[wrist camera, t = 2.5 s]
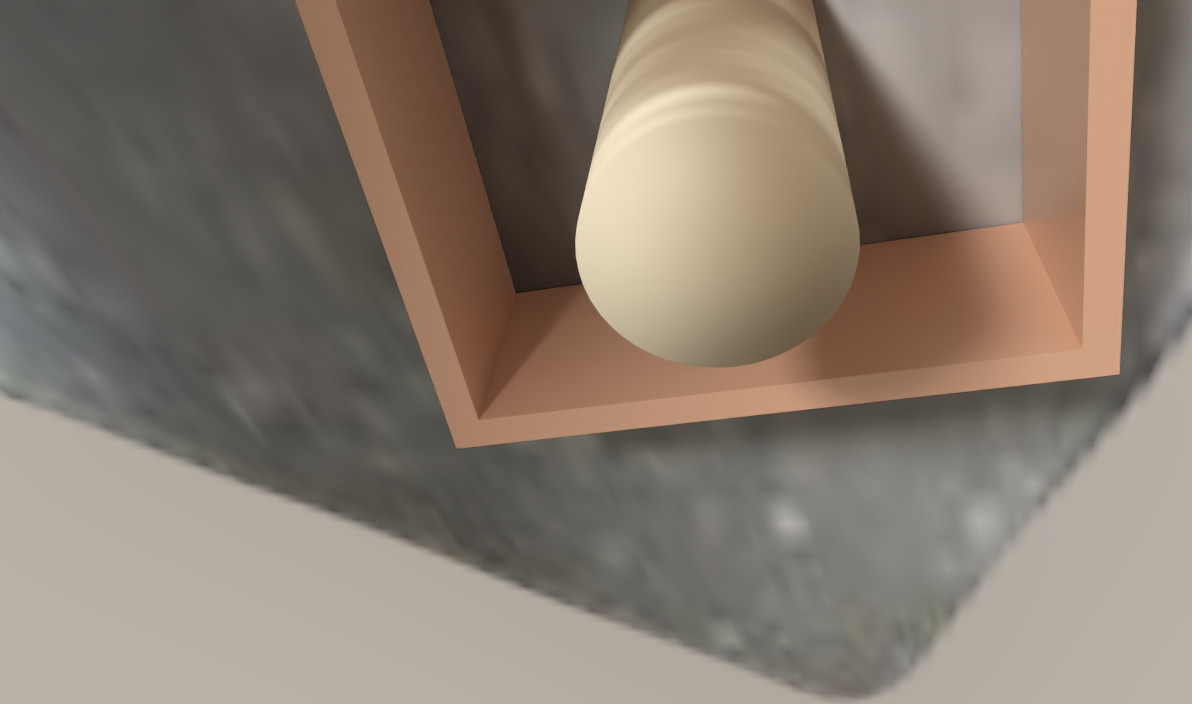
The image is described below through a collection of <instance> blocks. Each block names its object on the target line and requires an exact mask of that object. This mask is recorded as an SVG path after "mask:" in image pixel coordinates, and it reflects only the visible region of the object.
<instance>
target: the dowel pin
mask: <svg viewBox="0 0 1192 704" xmlns="http://www.w3.org/2000/svg"><path fill="white" fill-rule="evenodd" d="M575 245H576V259H577V265H578V270H579V274H580V277H581V280H582V283H583V286H584V288H585V290H586V292H587V294H588V296H589V298H590V300H591V302H592V303H593V305H594V306H595V308H596V309H597V311H598V312H599V313H600V315H601V316H602V317H603V318H604V319H605V320H606V321H607V323H608V324H609V325H610V326H611V327H612V328H613V329H614V330H616V331H617V332H618V333H619V334H620V335H621V336H623V337H624V338H625V339H627V340H628V341H630V342H631V343H633V344H634V345H636V346H637V347H639V348H641V349H643V350H645V351H647V352H649V353H651V354H653V355H655V356H658V357H661V358H663V359H666V360H669V361H673V362H677V363H680V364H684V365H691V366H698V367H713V368H722V367H737V366H742V365H748V364H753V363H757V362H760V361H764V360H767V359H770V358H773V357H775V356H778V355H780V354H782V353H785V352H787V351H789V350H791V349H792V348H794V347H796V346H798V345H800V344H801V343H803V342H804V341H805V340H807V339H808V338H809V337H811V336H812V335H814V334H815V333H816V332H817V331H818V330H819V329H820V328H821V327H822V326H824V325H825V324H826V323H827V322H828V320H829V319H830V318H831V317H832V316H833V314H834V313H835V312H836V311H837V310H838V308H839V307H840V305H841V303H842V302H843V300H844V299H845V297H846V295H847V293H848V291H849V289H850V286H851V284H852V282H853V279H854V276H855V272H856V269H857V265H858V258H859V251H860V234H859V226H858V221H857V215H856V210H855V205H854V200H853V196H852V191H851V186H850V181H849V176H848V171H847V166H846V162H845V157H844V152H843V147H842V142H841V137H840V132H839V128H838V123H837V118H836V113H835V108H834V103H833V98H832V94H831V89H830V84H829V79H828V74H827V69H826V65H825V60H824V55H823V50H822V45H821V40H820V35H819V31H818V26H817V21H816V16H815V11H814V6H813V1H812V0H629V5H628V9H627V13H626V17H625V22H624V26H623V30H622V34H621V39H620V43H619V47H618V51H617V56H616V60H615V64H614V69H613V73H612V77H611V81H610V86H609V90H608V94H607V98H606V103H605V107H604V111H603V116H602V120H601V124H600V128H599V133H598V137H597V141H596V145H595V150H594V154H593V158H592V162H591V167H590V171H589V175H588V180H587V184H586V188H585V192H584V197H583V201H582V205H581V209H580V214H579V218H578V222H577V230H576V238H575Z"/></svg>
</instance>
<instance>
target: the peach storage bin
mask: <svg viewBox="0 0 1192 704" xmlns="http://www.w3.org/2000/svg"><path fill="white" fill-rule="evenodd" d="M295 2H296V5H297V8H298V11H299V13H300V16H301V19H302V22H303V25H304V27H305V30H306V33H307V36H308V38H309V41H310V44H311V47H312V49H313V52H314V55H315V58H316V61H317V63H318V66H319V69H320V72H321V74H322V77H323V80H324V83H325V85H326V88H327V91H328V94H329V97H330V99H331V102H332V105H333V108H334V110H335V113H336V116H337V119H338V122H339V124H340V127H341V130H342V133H343V135H344V138H345V141H346V144H347V146H348V149H349V152H350V155H351V158H352V160H353V163H354V166H355V169H356V171H357V174H358V177H359V180H360V182H361V185H362V188H363V191H364V194H365V196H366V199H367V202H368V205H369V207H370V210H371V213H372V216H373V218H374V221H375V224H376V227H377V230H378V232H379V235H380V238H381V241H382V243H383V246H384V249H385V252H386V254H387V257H388V260H389V263H390V266H391V268H392V271H393V274H394V277H395V279H396V282H397V285H398V288H399V290H400V293H401V296H402V299H403V302H404V304H405V307H406V310H407V313H408V315H409V318H410V321H411V324H412V326H413V329H414V332H415V335H416V338H417V340H418V343H419V346H420V349H421V351H422V354H423V357H424V360H425V362H426V365H427V368H428V371H429V374H430V376H431V379H432V382H433V385H434V387H435V390H436V393H437V396H438V399H439V401H440V404H441V407H442V410H443V412H444V415H445V418H446V421H447V423H448V426H449V429H450V432H451V435H452V437H453V440H454V443H455V446H456V448H457V449H459V448H468V447H477V446H486V445H494V444H503V443H512V442H521V441H530V440H539V439H548V438H557V437H566V436H575V435H584V434H592V433H601V432H610V431H619V430H628V429H637V428H646V427H655V426H664V425H673V424H682V423H690V422H699V421H708V420H717V419H726V418H735V417H744V416H753V415H762V414H771V413H780V412H788V411H797V410H806V409H815V408H824V407H833V406H842V405H851V404H860V403H869V402H878V401H886V400H895V399H904V398H913V397H922V396H931V395H940V394H949V393H958V392H967V391H976V390H984V389H993V388H1002V387H1011V386H1020V385H1029V384H1038V383H1047V382H1056V381H1065V380H1074V379H1082V378H1091V377H1100V376H1109V375H1118V374H1120V354H1121V332H1122V311H1123V289H1124V268H1125V246H1126V225H1127V203H1128V182H1129V160H1130V139H1131V117H1132V96H1133V74H1134V53H1135V31H1136V10H1137V0H1021V57H1022V161H1023V223H1016V224H1008V225H1001V226H994V227H987V228H980V229H973V230H965V231H958V232H951V233H944V234H937V235H930V236H922V237H915V238H908V239H901V240H894V241H887V242H879V243H872V244H865V245H860V251H859V258H858V265H857V269H856V272H855V276H854V279H853V282H852V284H851V286H850V289H849V291H848V293H847V295H846V297H845V299H844V300H843V302H842V303H841V305H840V307H839V308H838V310H837V311H836V312H835V313H834V314H833V316H832V317H831V318H830V319H829V320H828V322H827V323H826V324H825V325H824V326H822V327H821V328H820V329H819V330H818V331H817V332H816V333H815V334H814V335H812V336H811V337H809V338H808V339H807V340H805V341H804V342H803V343H801V344H800V345H798V346H796V347H794V348H792V349H791V350H789V351H787V352H785V353H782V354H780V355H778V356H775V357H773V358H770V359H767V360H764V361H760V362H757V363H753V364H748V365H742V366H737V367H722V368H713V367H698V366H691V365H684V364H680V363H677V362H673V361H669V360H666V359H663V358H661V357H658V356H655V355H653V354H651V353H649V352H647V351H645V350H643V349H641V348H639V347H637V346H636V345H634V344H633V343H631V342H630V341H628V340H627V339H625V338H624V337H623V336H621V335H620V334H619V333H618V332H617V331H616V330H614V329H613V328H612V327H611V326H610V325H609V324H608V323H607V321H606V320H605V319H604V318H603V317H602V316H601V315H600V313H599V312H598V311H597V309H596V308H595V306H594V305H593V303H592V302H591V300H590V298H589V296H588V294H587V292H586V290H585V288H584V286H583V284H578V285H571V286H564V287H557V288H550V289H543V290H535V291H528V292H521V293H516V291H515V288H514V285H513V281H512V278H511V274H510V271H509V268H508V264H507V261H506V257H505V254H504V251H503V247H502V244H501V241H500V237H499V234H498V230H497V227H496V224H495V220H494V217H493V214H492V210H491V207H490V203H489V200H488V197H487V193H486V190H485V186H484V183H483V180H482V176H481V173H480V170H479V166H478V163H477V159H476V156H475V153H474V149H473V146H472V143H471V139H470V136H469V132H468V129H467V126H466V122H465V119H464V115H463V112H462V109H461V105H460V102H459V99H458V95H457V92H456V88H455V85H454V82H453V78H452V75H451V72H450V68H449V65H448V61H447V58H446V55H445V51H444V48H443V45H442V41H441V38H440V34H439V31H438V28H437V24H436V21H435V17H434V14H433V11H432V7H431V4H430V1H429V0H295Z"/></svg>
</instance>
